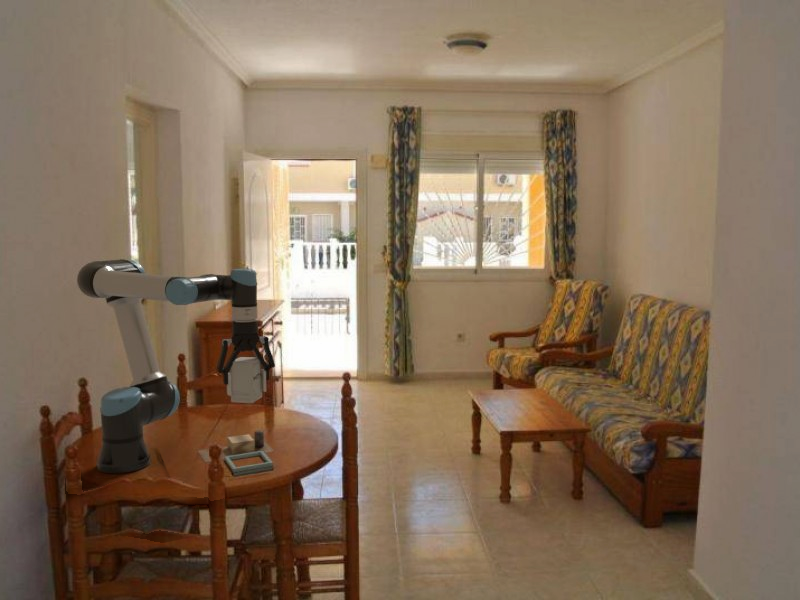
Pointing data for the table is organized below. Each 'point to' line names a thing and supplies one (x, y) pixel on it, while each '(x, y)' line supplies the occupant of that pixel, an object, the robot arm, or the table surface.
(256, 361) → the supplement box
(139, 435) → the robot arm
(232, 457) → the grey-green flat square frame
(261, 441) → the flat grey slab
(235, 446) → the beige wooden block
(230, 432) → the table surface
